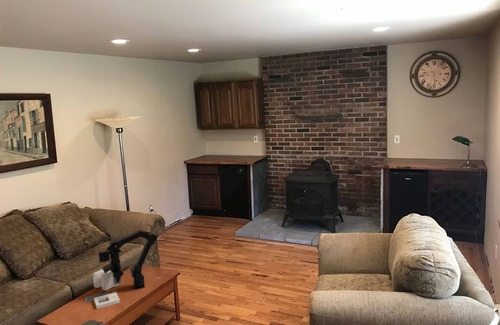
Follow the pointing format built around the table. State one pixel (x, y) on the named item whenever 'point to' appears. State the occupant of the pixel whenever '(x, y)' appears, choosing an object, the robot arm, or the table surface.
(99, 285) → the cable organizer
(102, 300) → the outlet plate
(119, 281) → the charger
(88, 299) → the phone
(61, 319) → the table surface
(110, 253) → the robot arm
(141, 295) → the table surface
